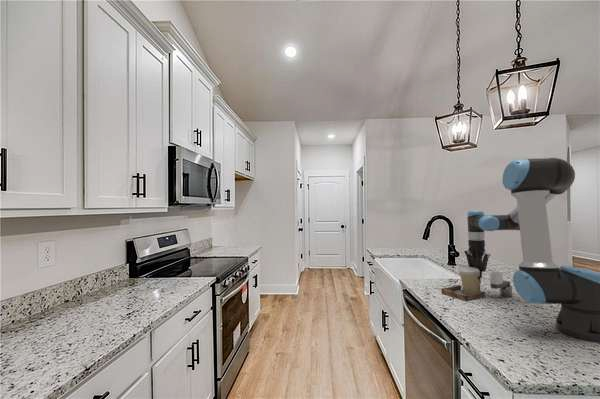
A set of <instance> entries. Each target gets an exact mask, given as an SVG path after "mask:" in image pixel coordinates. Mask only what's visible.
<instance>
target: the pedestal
mask: <svg viewBox="0 0 600 399" xmlns="http://www.w3.org/2000/svg"><path fill="white" fill-rule="evenodd" d="M499 294H500V296H501V297H503V298H513V286H512V285H510V286H507V287H503V288H499Z"/></svg>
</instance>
